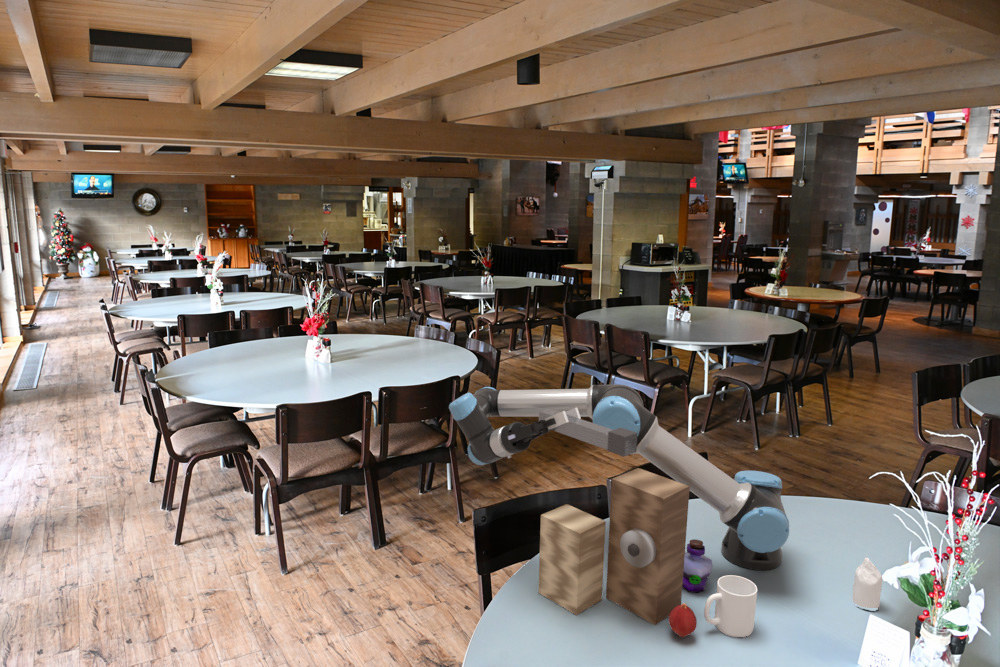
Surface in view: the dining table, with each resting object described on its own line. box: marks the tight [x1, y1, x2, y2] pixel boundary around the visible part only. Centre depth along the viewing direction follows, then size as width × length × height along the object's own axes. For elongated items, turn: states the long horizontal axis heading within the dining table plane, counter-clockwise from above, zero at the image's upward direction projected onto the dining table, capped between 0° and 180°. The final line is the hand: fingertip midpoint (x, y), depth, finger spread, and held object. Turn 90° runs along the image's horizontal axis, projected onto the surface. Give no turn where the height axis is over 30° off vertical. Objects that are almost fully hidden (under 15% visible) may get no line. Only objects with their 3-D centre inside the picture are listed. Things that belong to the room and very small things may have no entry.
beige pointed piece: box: [851, 557, 883, 608], centre depth 159 cm, size 6×12×6 cm
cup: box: [703, 574, 758, 638], centre depth 149 cm, size 8×12×10 cm
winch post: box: [605, 467, 690, 626], centre depth 155 cm, size 14×13×30 cm
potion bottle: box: [682, 539, 713, 594], centre depth 165 cm, size 9×9×12 cm
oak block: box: [538, 503, 607, 616], centre depth 159 cm, size 12×9×20 cm
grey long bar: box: [538, 409, 637, 457], centre depth 155 cm, size 26×4×4 cm, turn 42°
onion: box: [668, 602, 697, 638], centre depth 146 cm, size 6×6×8 cm
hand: (571, 415), depth 157 cm, fingers closed on grey long bar, 3 cm apart
